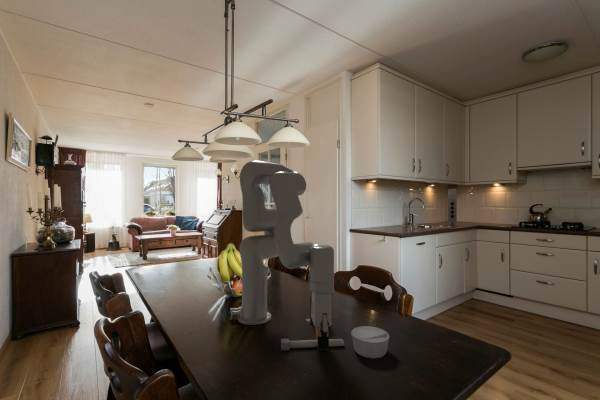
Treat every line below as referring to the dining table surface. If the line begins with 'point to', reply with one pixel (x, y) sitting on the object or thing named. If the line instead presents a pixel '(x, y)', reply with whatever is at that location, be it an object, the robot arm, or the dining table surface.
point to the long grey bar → (307, 343)
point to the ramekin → (370, 341)
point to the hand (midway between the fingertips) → (321, 344)
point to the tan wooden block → (318, 331)
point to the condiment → (310, 312)
